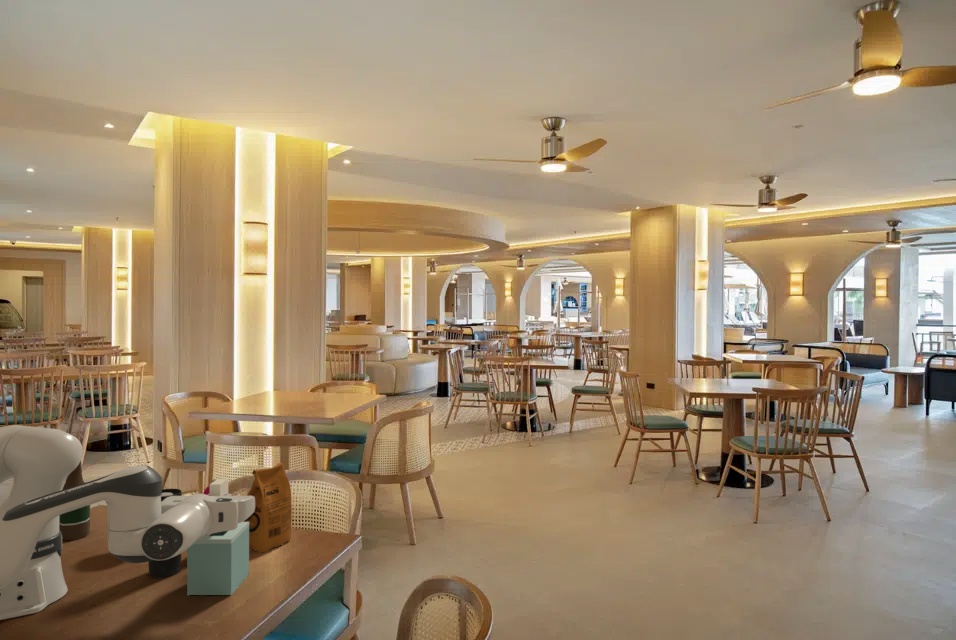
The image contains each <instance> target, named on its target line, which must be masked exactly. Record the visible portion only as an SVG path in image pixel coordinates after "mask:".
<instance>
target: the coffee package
mask: <svg viewBox="0 0 956 640" xmlns="http://www.w3.org/2000/svg"><path fill="white" fill-rule="evenodd" d="M251 474H252V475H253V476H254V480H253V482H252V484H251V488H250V490H249V491H248V493H247V495H246V496H254V497H255V511H254V513H253V514H252V515H251V516H250V517H248V518H247V519H246V520H245V521H243V522H249V550H251V551H255V552H257V553H258V552H259V553H265V552H266V553H267V551H269V550H271V549H273V548H277V547H276V546H279V547H281V546H280V545H282V544H283V545H285V544H286V543H287V542H289V541H291V540H290V539H292V517H293V516H292V515H293V514H292V513H293V512H292V510H293V509H292V507H293V506H292V490H291V489H292V488H291V482H290V480H289V477H288V475H287V472H286V469H285V466H284V464H283V463H282V462H278V463H276V465H274V466H273V467H272V468H271V467H270V468H264V469H262V468H261V469H259V468H258V469H253V470H252V472H251ZM285 542H286V543H285ZM284 543H285V544H284ZM283 545H282V546H283Z"/></svg>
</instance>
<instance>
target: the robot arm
mask: <svg viewBox="0 0 956 640" xmlns="http://www.w3.org/2000/svg"><path fill="white" fill-rule="evenodd" d="M82 458H83V445H82V443H81V441H80V439H78V437H76V436H75V435H72V434H71V433H68V432H67V431H64V430H63V429H58V428H48V427H39V426H29V425H20V424H12V425H6V426H1V427H0V485H1V484H3V483H4V482H7V480H10V479H13V483H12V486H11V490H10V493H9V495H8V496H7V498H5V499H4V500H3V501H2V503H1V504H0V621H2V620H7V619H12V618H17V617H22V616H27V615H32V614H36V613H39V612H41V611H43V609H45V608H46V607H47V606H48V605H51V604H52V603H54V602H57V601H58V600H59V599H61V598H63V597H64V596H65V595H66V594H67V592H68V586H67V583H66V581H65V576H64V573H63V568H62V567H63V566H62V560H61V556H62V551H63V540H62V535H61V531H60V530H59V515H61V514H63V513H66V512H70V511H73V510H76V509H79V508H82V507H85V506H88V505H90V506H91V505H93V504H97V503H99V502H104V501H105V503H106V509H107V510H106V512H107V546H108V547H107V548H108V553H109V554H110V555H111V556H113V557H114V558H115V559H118V560H120V561H122V562H124V563H127V564H128V563H129V564H142V563H149V561H153V560H166V559H170V558H172V557H175V556H177V555H179V554H181V555H182V553H184V552H187V549H188V548H190V547H191V546H192V545H193V544H194V543H196V542H197V540H198V539H200V538H201V537H203V536H207V535H210V534H213V533H217V532H224V531H230V530H234V529H236V528H237V526H238V523H241V522H243V521H245V520H246V519H247V518H248V517H250V516H251V515H252V514H253V513H254V511H255V497H254V496H247V495H233V494H232V493H228V494H224V495H223V496H210V494H208V495H205V494H203V493H194V494H191V495H182V496H170V497H167V498H165V499H164V500H163V501H162V502H161V495H162V489H163V477H162V475H160V473H158V472H157V471H156V469H154V468H153V467H151V466H150V465H133V466H128V467H125V468H123V469H121V470H118V471H115V472H113V473H110V474H108V475H105V476H103V477H100V478H96V479H94V480H90V481H87V482H85V483H83V484H80V485H77V486H74V487H70V488H67V489H64V490H63V486H64V484H65V482H66V479H67V477H68V475H69V474H70V473H71V472H72V471H73V470H75V468H76V467H77V466H78V465H79V463H80V461H81V462H82Z"/></svg>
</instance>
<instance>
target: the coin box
mask: <svg viewBox="0 0 956 640" xmlns="http://www.w3.org/2000/svg"><path fill="white" fill-rule="evenodd" d="M186 552H187V553H186V555H187V557H186V558H187V561H186V562H187V563H186V564H187V565H186V566H187V573H186V574H187V575H186V578H187V579H186V584H187V585H186V587H187V588H186V589H187V591H186V596H188V597H190V596H189V595H231V596H233V594H234V593H235V591H237V589H238V588H239V587H240V585H241V584H242V583H243V581H244V580H245V579H246V578H247V576H248V575H249V574H250V549H249V522H241V523H238V526H237V528H236V529H234V530H230V531H224V532H217V533H213V534H210V535H207V536H203V537H201V538H200V539H198V540H197V542H196V543H194V544H193V545H192V546H191V547H190V548H188V549H187V550H186Z"/></svg>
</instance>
